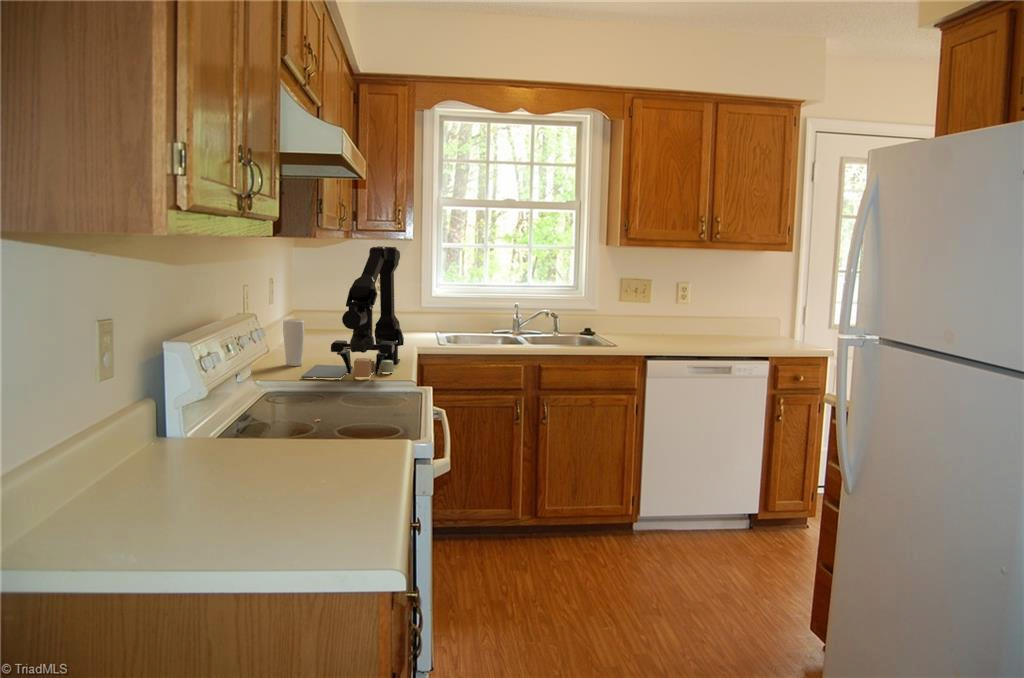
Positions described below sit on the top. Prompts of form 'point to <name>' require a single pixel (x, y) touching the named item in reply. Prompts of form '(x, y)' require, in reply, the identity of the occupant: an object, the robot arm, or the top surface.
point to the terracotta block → (362, 367)
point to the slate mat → (326, 371)
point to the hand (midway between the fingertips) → (362, 374)
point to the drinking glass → (293, 341)
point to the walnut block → (372, 366)
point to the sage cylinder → (387, 366)
